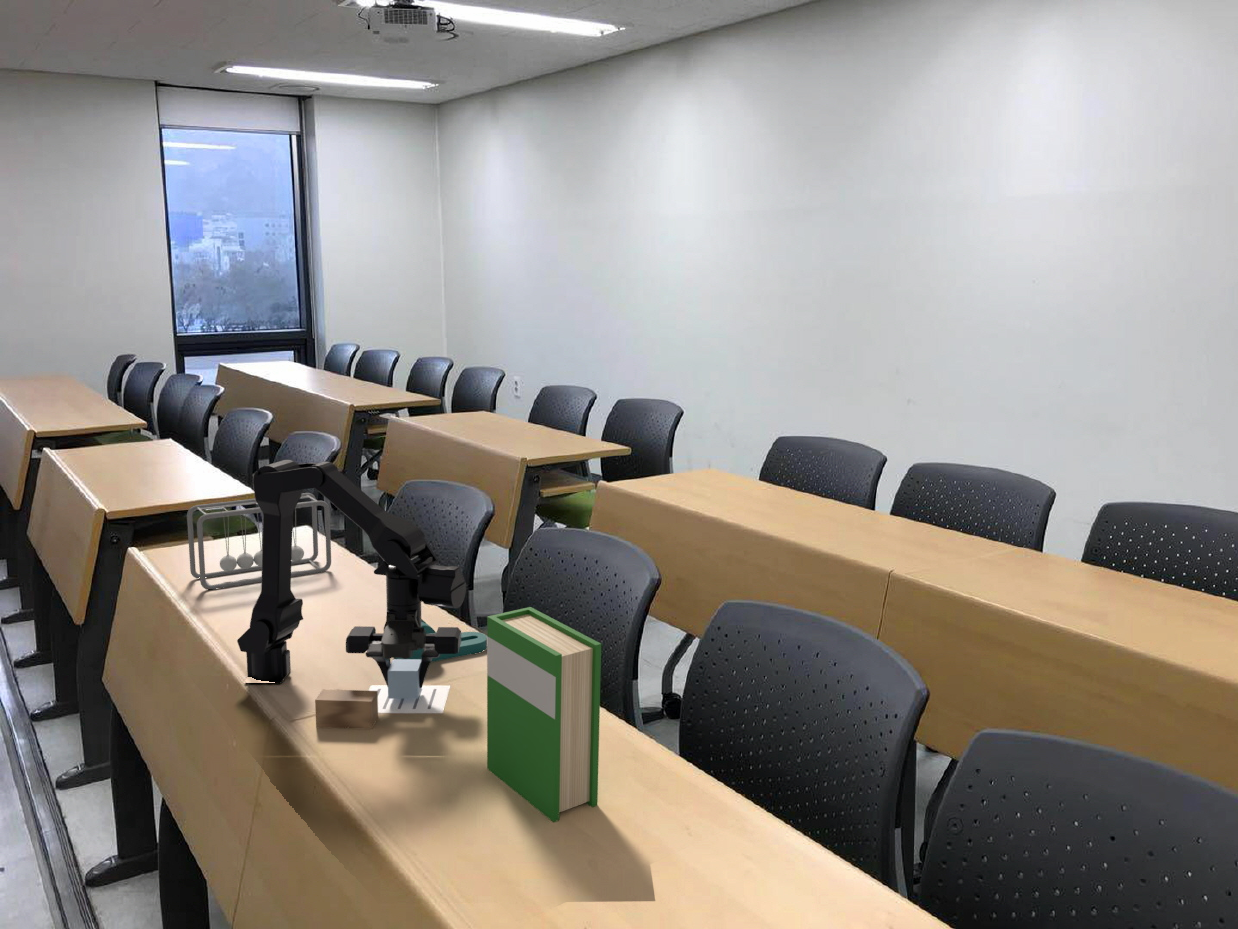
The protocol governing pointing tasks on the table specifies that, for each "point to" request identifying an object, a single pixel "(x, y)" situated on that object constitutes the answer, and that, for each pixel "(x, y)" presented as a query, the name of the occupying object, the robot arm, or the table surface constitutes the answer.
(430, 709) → the letter
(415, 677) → the cube
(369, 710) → the walnut block
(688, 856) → the table surface
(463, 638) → the bracket
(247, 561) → the newton's cradle
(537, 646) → the hardback book
